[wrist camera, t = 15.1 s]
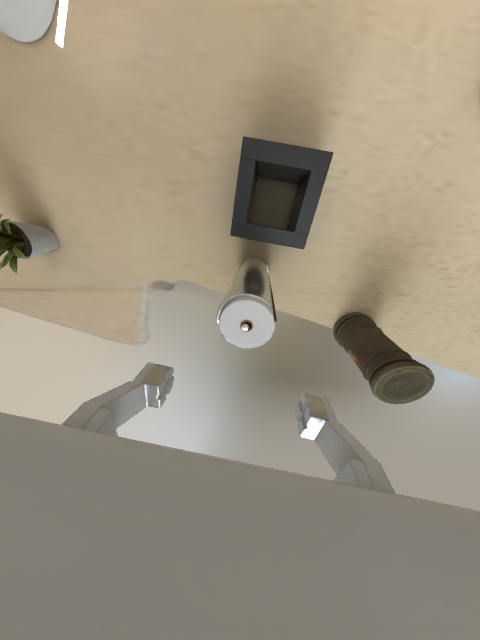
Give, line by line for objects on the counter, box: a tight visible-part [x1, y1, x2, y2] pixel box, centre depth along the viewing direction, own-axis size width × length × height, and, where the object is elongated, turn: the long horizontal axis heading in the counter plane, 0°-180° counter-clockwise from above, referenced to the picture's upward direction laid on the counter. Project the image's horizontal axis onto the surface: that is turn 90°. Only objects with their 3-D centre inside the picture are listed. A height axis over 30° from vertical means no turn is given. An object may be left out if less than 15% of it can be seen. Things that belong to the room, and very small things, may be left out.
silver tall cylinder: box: [216, 257, 277, 348], centre depth 30 cm, size 6×6×25 cm
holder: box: [231, 137, 333, 249], centre depth 31 cm, size 12×12×9 cm
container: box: [334, 313, 434, 404], centre depth 36 cm, size 9×9×18 cm
